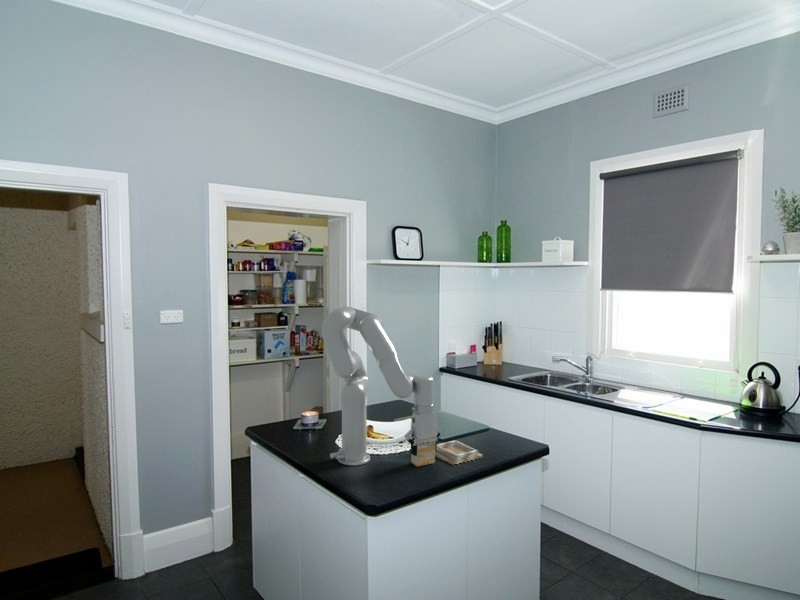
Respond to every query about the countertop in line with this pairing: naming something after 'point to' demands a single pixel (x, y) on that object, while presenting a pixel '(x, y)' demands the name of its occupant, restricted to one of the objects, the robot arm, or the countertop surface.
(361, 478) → the countertop surface
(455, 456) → the board
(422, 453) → the supplement box
